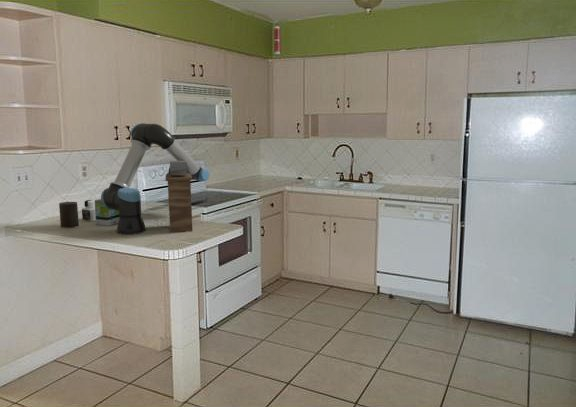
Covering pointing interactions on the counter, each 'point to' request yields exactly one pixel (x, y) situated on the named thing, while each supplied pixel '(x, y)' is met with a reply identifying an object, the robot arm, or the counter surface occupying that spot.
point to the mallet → (178, 167)
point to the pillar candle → (68, 214)
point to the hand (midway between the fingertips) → (178, 164)
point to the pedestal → (180, 202)
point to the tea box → (105, 214)
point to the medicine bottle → (89, 211)
